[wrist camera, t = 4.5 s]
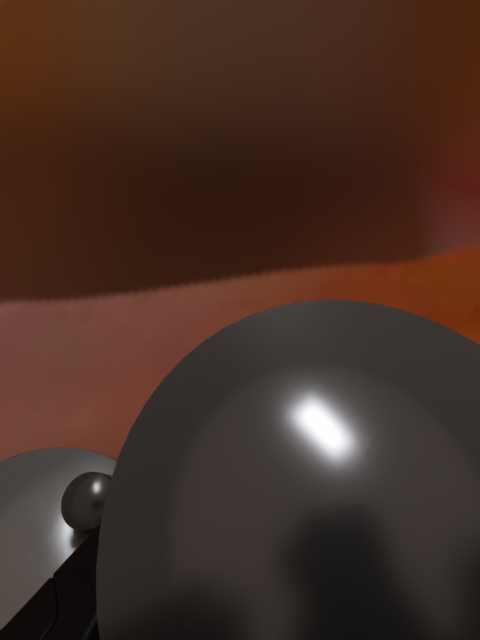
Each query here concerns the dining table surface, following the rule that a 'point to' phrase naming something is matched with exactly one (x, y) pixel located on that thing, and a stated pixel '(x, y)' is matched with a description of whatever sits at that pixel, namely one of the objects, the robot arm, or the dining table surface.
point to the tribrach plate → (46, 516)
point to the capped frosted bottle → (301, 485)
